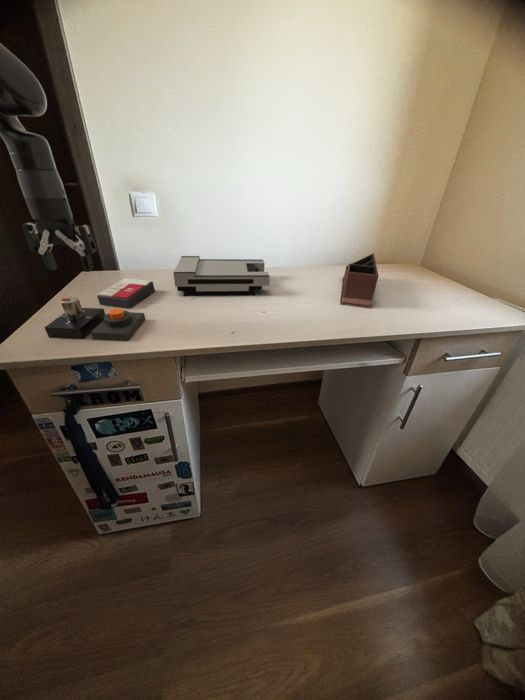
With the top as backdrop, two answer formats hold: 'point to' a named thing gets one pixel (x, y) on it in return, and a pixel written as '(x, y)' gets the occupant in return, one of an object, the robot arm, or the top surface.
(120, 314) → the button
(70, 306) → the dial
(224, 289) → the game console
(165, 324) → the top surface
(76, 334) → the dial panel
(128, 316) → the button block
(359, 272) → the desk organizer
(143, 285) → the calculator
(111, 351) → the top surface
